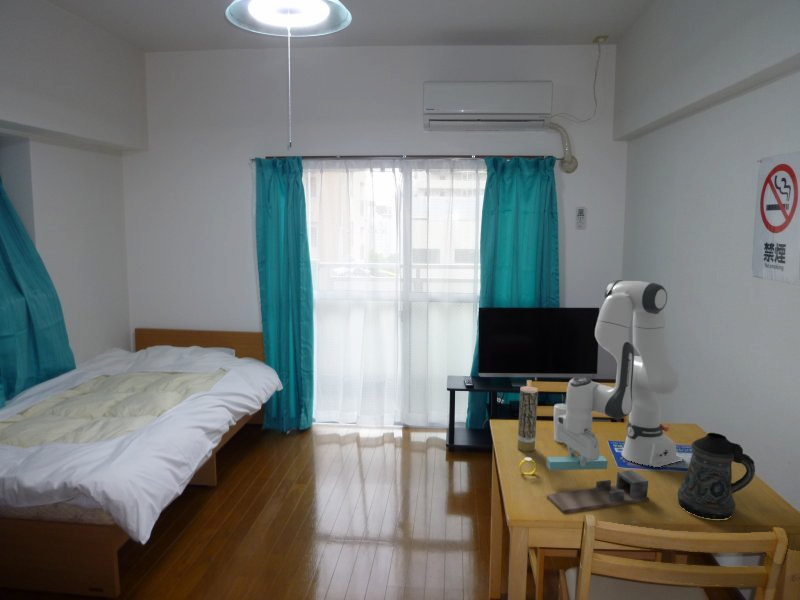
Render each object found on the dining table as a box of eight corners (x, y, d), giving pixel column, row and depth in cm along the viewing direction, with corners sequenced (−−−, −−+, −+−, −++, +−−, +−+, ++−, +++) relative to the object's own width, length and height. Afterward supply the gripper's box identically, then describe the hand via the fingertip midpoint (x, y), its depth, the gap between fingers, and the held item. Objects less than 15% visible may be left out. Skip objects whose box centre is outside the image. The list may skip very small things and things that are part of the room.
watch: (520, 476, 202) (520, 461, 202) (518, 473, 205) (518, 457, 204) (537, 475, 202) (536, 460, 201) (535, 472, 205) (535, 456, 204)
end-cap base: (629, 486, 196) (630, 468, 195) (648, 500, 186) (650, 482, 185) (546, 497, 187) (547, 479, 186) (563, 513, 178) (564, 493, 177)
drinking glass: (570, 439, 236) (572, 405, 233) (567, 445, 230) (569, 410, 227) (553, 436, 239) (555, 402, 236) (550, 442, 232) (552, 407, 230)
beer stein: (669, 493, 191) (675, 423, 187) (729, 497, 189) (737, 426, 185) (688, 520, 175) (696, 443, 171) (754, 524, 173) (764, 447, 169)
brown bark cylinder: (534, 453, 222) (538, 392, 218) (517, 451, 223) (520, 390, 219) (534, 446, 228) (537, 386, 224) (517, 444, 229) (520, 385, 226)
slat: (602, 463, 199) (603, 455, 199) (607, 468, 195) (607, 460, 195) (546, 465, 199) (546, 457, 198) (549, 470, 195) (550, 462, 194)
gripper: (605, 434, 185) (603, 473, 188) (570, 412, 205) (568, 448, 207) (588, 436, 183) (586, 476, 186) (554, 414, 203) (553, 451, 205)
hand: (577, 461), depth 197 cm, fingers closed on slat, 5 cm apart
